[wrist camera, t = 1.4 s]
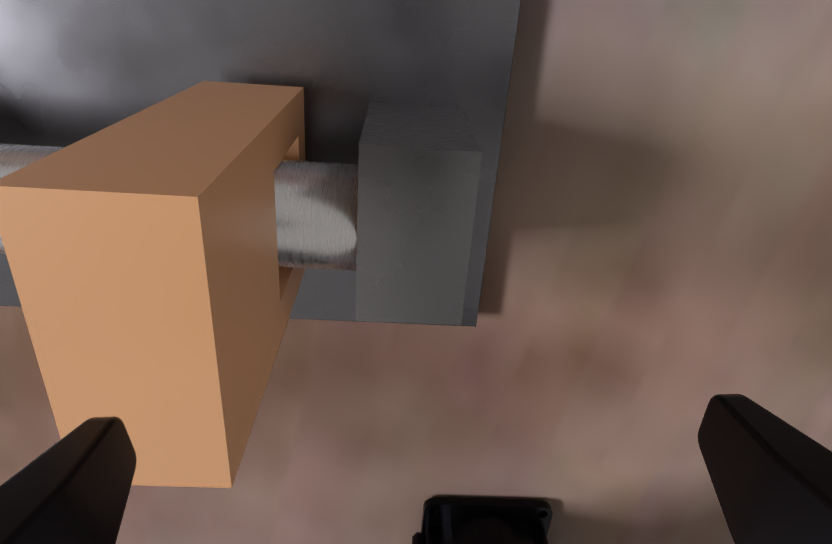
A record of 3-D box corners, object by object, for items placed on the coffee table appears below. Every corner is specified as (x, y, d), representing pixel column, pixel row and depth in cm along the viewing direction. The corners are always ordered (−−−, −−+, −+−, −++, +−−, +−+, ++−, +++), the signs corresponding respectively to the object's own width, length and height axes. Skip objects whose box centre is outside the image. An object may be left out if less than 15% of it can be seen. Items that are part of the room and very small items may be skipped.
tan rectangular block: (303, 87, 17) (197, 196, 8) (307, 262, 20) (231, 488, 11) (203, 80, 17) (-15, 185, 8) (222, 258, 20) (73, 484, 11)
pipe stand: (515, -7, 18) (571, -4, 12) (472, 313, 23) (497, 423, 17) (-353, -73, 16) (-765, -105, 11) (-182, 283, 22) (-393, 391, 16)
